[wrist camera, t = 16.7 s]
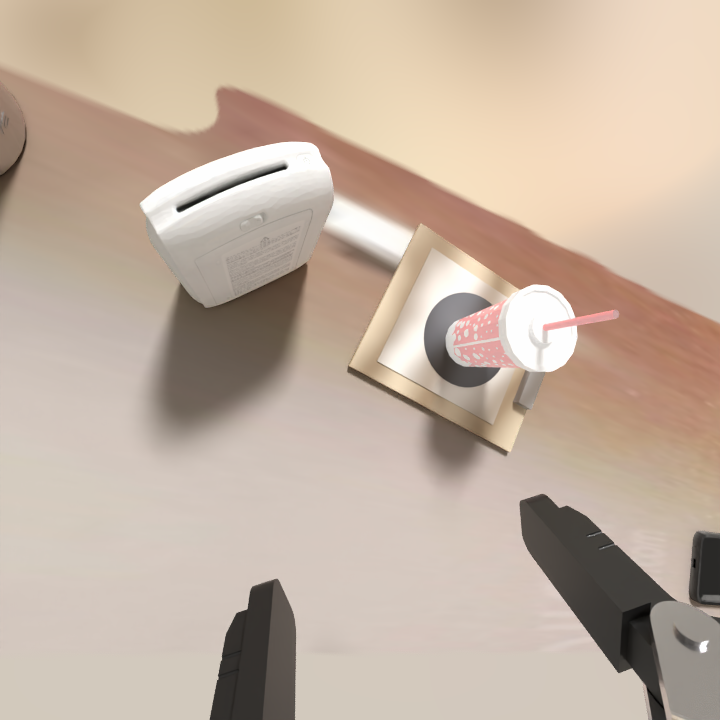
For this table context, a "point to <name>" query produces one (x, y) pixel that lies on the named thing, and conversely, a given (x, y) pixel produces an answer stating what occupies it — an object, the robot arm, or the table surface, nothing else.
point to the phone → (705, 568)
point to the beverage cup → (520, 332)
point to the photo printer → (241, 219)
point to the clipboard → (443, 341)
